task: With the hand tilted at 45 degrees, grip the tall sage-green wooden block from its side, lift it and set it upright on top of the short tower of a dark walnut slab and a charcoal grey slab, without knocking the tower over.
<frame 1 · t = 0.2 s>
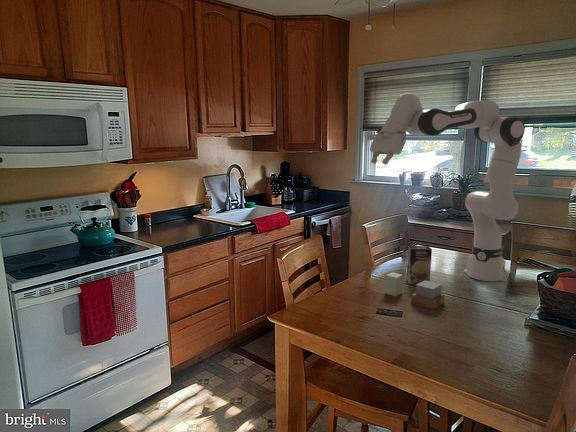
hand: (378, 163, 163), 54 cm above the table, tool tilted 25°, fingers open, 8 cm apart
tower top: (428, 294, 159), point 4 cm above the table, touching tower base
tower base: (427, 303, 160), on the table, touching tower top
coffee box: (417, 282, 183), on the table
sage block: (393, 293, 170), on the table
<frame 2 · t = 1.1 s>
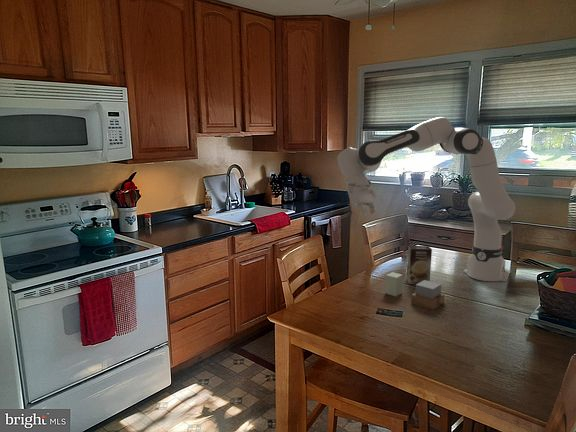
hand: (369, 214, 171), 32 cm above the table, tool tilted 30°, fingers open, 8 cm apart
nothing on the table moved.
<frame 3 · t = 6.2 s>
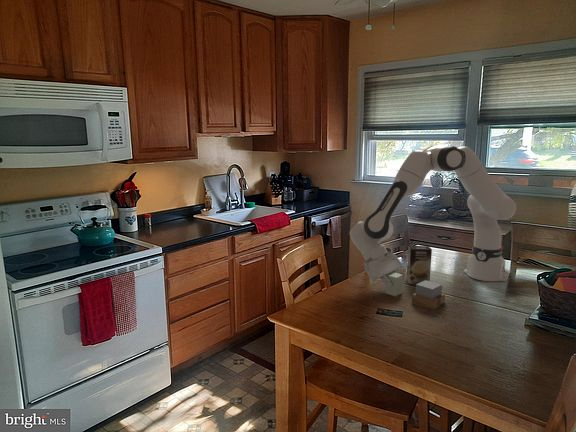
hand: (395, 283, 169), 4 cm above the table, tool tilted 45°, fingers closed on sage block, 5 cm apart
sage block: (393, 293, 170), on the table, touching gripper
everything else where it was.
when the fingers open (13 cm above the table, at t = 12.2 s): sage block drops 1 cm, resting on tower top.
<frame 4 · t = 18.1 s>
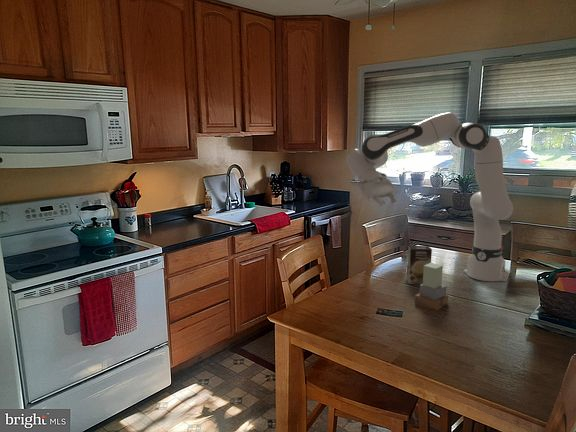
hand: (389, 204, 177), 35 cm above the table, tool tilted 45°, fingers open, 8 cm apart
tower top: (432, 295, 158), point 4 cm above the table, touching sage block, tower base
tower base: (431, 304, 159), on the table, touching tower top
sage block: (432, 285, 157), point 8 cm above the table, touching tower top
everything else where it was.
at the end: sage block 0.4 cm off-centre on the tower top, point 4.0 cm above the tower top's base; tower top moved 1.9 cm from its start; sage block tilted 0° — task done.
